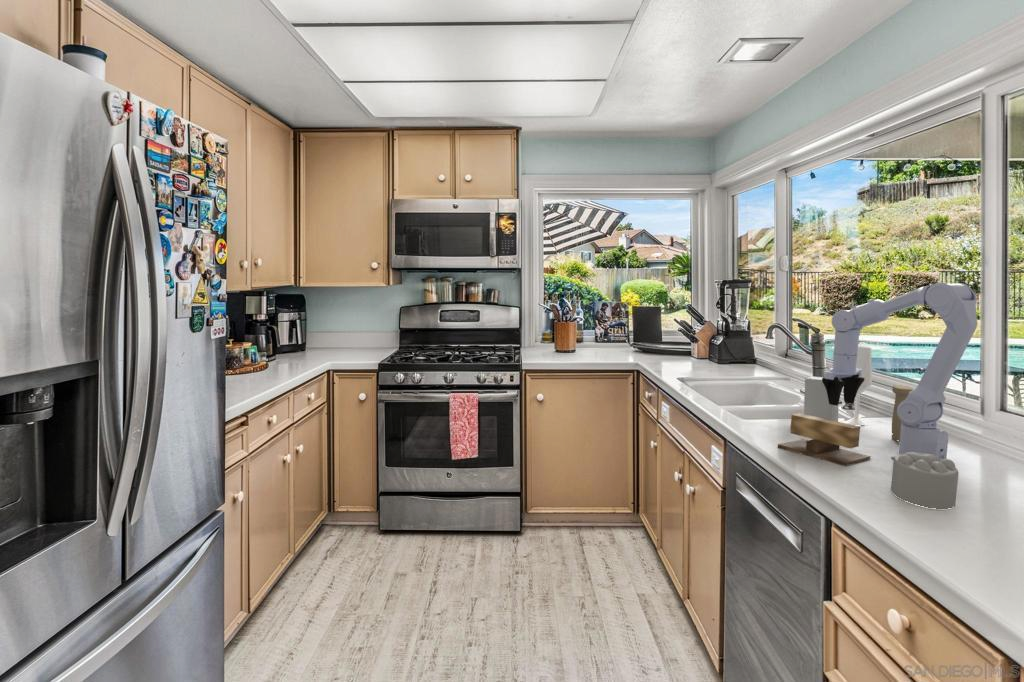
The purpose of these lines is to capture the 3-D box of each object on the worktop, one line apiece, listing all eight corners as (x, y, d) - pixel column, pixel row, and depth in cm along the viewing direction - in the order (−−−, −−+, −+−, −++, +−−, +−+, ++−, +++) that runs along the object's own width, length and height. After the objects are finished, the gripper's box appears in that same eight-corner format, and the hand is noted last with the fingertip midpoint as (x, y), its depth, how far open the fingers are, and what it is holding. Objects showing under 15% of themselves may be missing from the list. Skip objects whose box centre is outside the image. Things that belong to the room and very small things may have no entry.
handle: (905, 438, 174) (910, 386, 172) (911, 444, 168) (916, 390, 166) (886, 436, 175) (890, 384, 174) (890, 442, 169) (895, 388, 168)
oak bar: (858, 446, 151) (860, 426, 150) (850, 448, 149) (852, 428, 148) (798, 431, 164) (799, 413, 163) (790, 433, 162) (791, 414, 162)
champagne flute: (863, 427, 185) (870, 348, 183) (839, 423, 190) (846, 346, 188) (871, 424, 190) (878, 347, 187) (848, 420, 195) (854, 345, 192)
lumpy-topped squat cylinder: (942, 491, 130) (946, 452, 129) (965, 514, 118) (969, 470, 117) (886, 485, 133) (889, 446, 132) (902, 506, 121) (906, 463, 120)
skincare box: (837, 427, 185) (841, 378, 183) (830, 430, 180) (834, 380, 179) (808, 422, 191) (812, 375, 189) (801, 425, 186) (804, 377, 185)
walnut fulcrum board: (870, 459, 152) (871, 445, 152) (845, 466, 146) (846, 451, 146) (802, 441, 167) (803, 429, 167) (777, 447, 161) (778, 434, 161)
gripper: (845, 351, 174) (841, 398, 176) (815, 353, 166) (812, 403, 168) (871, 354, 168) (866, 403, 170) (841, 357, 160) (837, 408, 162)
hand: (841, 403), depth 168 cm, fingers open, 7 cm apart
